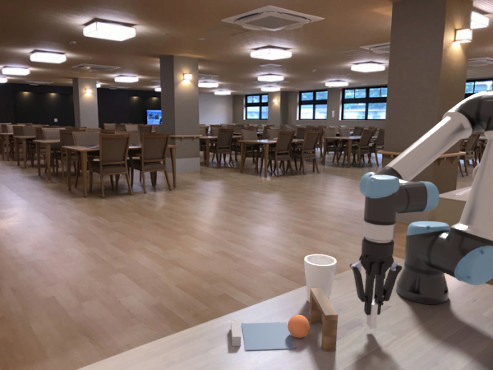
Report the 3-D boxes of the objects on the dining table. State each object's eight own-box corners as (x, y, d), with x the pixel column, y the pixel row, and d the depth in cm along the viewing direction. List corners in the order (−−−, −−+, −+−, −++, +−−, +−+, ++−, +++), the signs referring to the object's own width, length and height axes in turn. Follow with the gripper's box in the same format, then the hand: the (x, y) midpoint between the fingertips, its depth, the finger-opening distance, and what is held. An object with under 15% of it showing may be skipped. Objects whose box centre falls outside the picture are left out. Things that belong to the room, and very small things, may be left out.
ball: (306, 309, 104) (285, 311, 103) (312, 321, 99) (290, 323, 98) (306, 329, 105) (285, 330, 105) (311, 341, 100) (290, 343, 99)
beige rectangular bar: (238, 328, 105) (238, 319, 105) (240, 346, 98) (240, 336, 97) (230, 328, 105) (230, 319, 105) (232, 346, 97) (232, 336, 97)
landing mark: (286, 322, 108) (286, 322, 108) (295, 348, 97) (295, 348, 97) (241, 324, 107) (241, 323, 107) (245, 350, 96) (245, 349, 96)
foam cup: (334, 310, 116) (336, 267, 113) (301, 306, 118) (303, 264, 115) (333, 295, 125) (336, 255, 123) (303, 292, 127) (305, 253, 124)
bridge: (319, 319, 111) (321, 287, 109) (335, 350, 96) (338, 314, 95) (308, 319, 110) (310, 288, 109) (323, 350, 96) (325, 315, 94)
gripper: (396, 233, 104) (389, 317, 108) (347, 233, 103) (341, 318, 107) (410, 242, 97) (402, 332, 101) (358, 243, 96) (351, 334, 100)
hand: (371, 325), depth 104 cm, fingers closed
